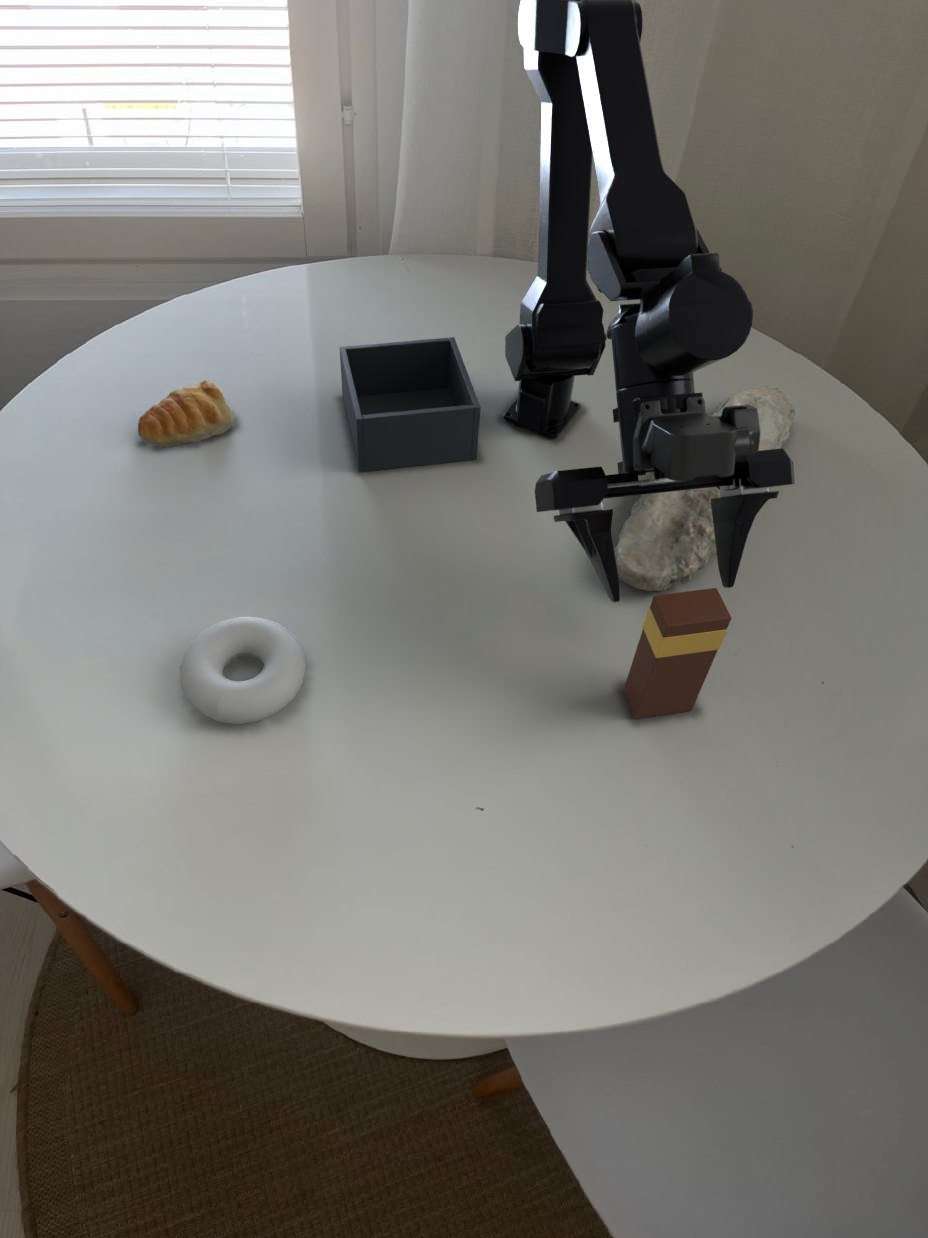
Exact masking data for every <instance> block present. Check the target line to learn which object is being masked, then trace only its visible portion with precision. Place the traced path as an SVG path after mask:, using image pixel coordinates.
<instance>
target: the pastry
mask: <svg viewBox="0 0 928 1238" xmlns="http://www.w3.org/2000/svg"><path fill="white" fill-rule="evenodd" d="M234 424H235V417H234V414H233V411H232V409H231V407H230V405H229V404H228V403H227V401H226V399H225V396H224V394H223V393H222V391H221V390H220V388H219V387H218V385H216V383H214V382H211V381H209V380H203V381H201V382H199V384H194V385H191V386H184V387H182V388H181V389H175V390H172V391H170V393H169V394H168V395H167V396H166V397H164V398H163V399H161V400H160V401H159V403H156V404H153V405H152V406H151V407H150V408H149V409H148V410H146V411H145V412H144V414H143V415H142V416H140V417H139V420H138V423H137V433H138V437H139V438H140V439H141V440H142V441H144V442H145V443H148V444H151V445H153V446H156V447H163V448H165V447H175V446H176V445H182V444H183V445H188V444H193V443H195V442H200V441H203V440H206V439H207V440H208V439H209V438H211V437H213V436H219V435H222V434H224V433H226V432H227V431H228V430H230V429H231V428H232V427H233V425H234Z"/></svg>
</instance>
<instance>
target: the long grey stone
mask: <svg viewBox="0 0 928 1238" xmlns="http://www.w3.org/2000/svg"><path fill="white" fill-rule="evenodd" d="M739 405H750V406H753V407H755V408H757V410H758V417H759V425H760V443H759V449H758V451H761V450H771V449H781V448H782V446H783V445H785V443H786V442H787V441H788V439H789V438H790V436H791V432H790V431H791V427H792V423H793V421H794V417H795V414H796V406H795V405H794V404H792V401H791V399H790V396H788V395H787V394H786V393H784V392H782V390H780V387H768V386H766V385H764V386H755V387H752V388H748V389H745V390H742V391H740V392H737V393H734V394H733V395H731V396H730V397H728V398H726V399H725V400H724V401H723V403H722V404H721V405H720V406H719V407H718V409H717V410H716V411H714V412H713V414H712V415H711V417H713V416H721V415H722V412H723V409H724V408H725V407H728V406H739ZM651 479H654V475H652V476H651V477H650V478H649V479H648V480H651ZM712 498H720V490H719V489H718V488H717V487H710V488H700V489H691V490H682V491H672V492H663V493H653V494H644V495H639V498H637V500H635V502H634V503H633V504H632V507H631V509H630V516H629V517H628V518H627V519H626V520H625V521H624V522H623V523H622V528H621V531H620V532H619V534H618V542H617V545H616V546H615V547H614V553H615V559H616V565H617V571H618V577H619V580H621V581H622V582H624V583H626V584H627V585H628V586H631V587H633V588H635V589H637V590H641V591H647V592H653V591H656V592H659V591H660V592H662V591H663V592H665V591H666V590H667V589H670V588H671V587H672V586H675V584H676V583H677V582H679V581H680V583H681V584H682V585H685V584H687V583H688V582H690V581H691V580H692V579H693V575H695V574H696V573H697V572H698V571H700V570H702V569H703V568H704V567H706V565H708V563H709V560H710V558H712V556H713V555H715V554H717V552H716V543H715V534H714V525H713V517H712V508H711V499H712Z"/></svg>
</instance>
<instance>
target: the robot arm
mask: <svg viewBox="0 0 928 1238" xmlns="http://www.w3.org/2000/svg"><path fill="white" fill-rule="evenodd" d="M643 19H644V18H643V9H642V7H641V4H640V3H639V2H638V1H637V0H520V2H519V7H518V17H517V30H518V39H519V43H520V45H521V46H522V47H523V66H524V71H525V72H526V74H527V76H528V78H529V81H530V82H531V84H532V86H533V88H534V90H535V92H536V94H537V96H538V99H539V100H540V102H541V118H540V119H541V121H540V128H541V129H540V163H539V164H540V165H539V202H538V203H539V205H538V207H539V208H538V240H537V241H538V242H537V243H538V245H537V246H538V247H537V248H538V249H537V251H538V252H537V275H536V277H535V279H534V280H533V282H532V284H531V285H530V287H529V289H528V290H527V292H526V294H525V295H524V297H523V299H522V300H521V302H520V308H519V309H520V310H519V324H516V325H515V326H514V327H513V328H512V329H511V330H510V331H509V332H507V334H506V335H505V338H504V339H505V340H504V355H505V360H506V362H507V364H508V367H509V370H510V372H511V376H512V378H513V380H514V382H518V390H517V397H516V399H515V400H514V401H513V403H512V404H511V405H510V406H509V407H508V408H507V409H506V410H505V412H504V413H503V420H505V421H507V422H510V423H512V424H515V425H518V426H519V427H523V428H525V429H528V430H530V431H533V432H535V433H538V434H540V435H543V436H545V437H548V438H551V439H557V438H559V436H560V435H561V434H562V433H563V432H564V430H565V429H566V428H567V427H568V425H569V424H570V423H571V421H572V420H573V419H574V418H575V417H576V415H577V414H578V413H579V411H580V410H581V404H580V403H578V402H576V401H573V400H572V395H573V389H574V384H575V378H576V376H577V377H578V376H594V374H595V372H596V370H597V367H598V366H599V363H600V361H601V358H602V356H603V354H604V351H605V350H606V341H607V340H611V350H612V360H613V370H614V382H615V384H614V385H615V396H616V407H615V408H613V409H612V418H613V420H612V421H613V423H618V428H619V439H620V449H621V451H620V452H621V460H622V461H619V462H617V463H616V464H617V473H614V474H606V473H605V471H604V468H603V466H592V467H582V468H573V469H572V468H571V469H563V470H562V469H561V470H554V471H552V472H548V473H545V474H541V475H540V477H539V478H538V480H537V481H536V483H535V487H534V498H535V508H536V513H541V512H542V513H543V512H551V511H558V513H559V514H557V515H556V514H555V515H553V519H554V522H555V523H560V522H564V523H566V525H567V526H568V528H569V529H570V530H571V532H572V534H573V535H574V536H575V539H576V540H577V541H578V542H579V544H580V546H581V547H582V549H583V550H584V552H585V554H586V555H587V557H588V559H589V561H590V563H591V565H592V567H593V569H594V571H595V573H596V575H597V577H598V579H599V581H600V583H601V585H602V588H603V589H604V591H605V593H606V596H607V597H608V599H609V601H610V602H612V603H618V602H620V601H621V598H620V597H621V595H620V594H621V593H620V577H618V571H617V565H616V559H615V553H614V549H615V547H614V541H613V535H612V528H613V527H612V526H613V519H614V517H613V516H614V509H613V508H611V509H609V508H608V509H605V508H604V507H605V506H604V500H605V499H614V498H625V497H634V496H641V495H644V494H653V493H663V492H672V491H682V490H691V489H700V488H710V487H717V488H718V489H719V490H720V498H712V499H711V508H712V517H713V525H714V534H715V543H716V558H717V559H716V560H717V567H718V568H717V569H718V572H719V576H720V580H721V585H722V587H723V588H725V589H731V588H733V587H734V585H735V583H736V579H737V576H738V572H739V568H740V566H741V565H740V564H741V561H742V559H743V558H742V557H743V553H744V551H745V546H746V543H747V539H748V536H749V535H750V531H751V529H752V526H753V523H754V521H755V518H756V517H757V515H758V513H759V512H760V511H761V509H762V508H763V507H764V505H765V504H766V503H767V502H768V501H769V500H771V499H773V500H774V499H778V496H779V494H780V490H776V491H771V490H770V488H773V487H781V486H789V485H795V484H796V479H795V465H794V461H793V460H792V458H791V457H790V455H789V454H788V453H787V451H786V450H785V449H784V448H783V447H781V448H780V449H771V450H761V451H758V449H759V443H760V425H759V417H758V410H757V408H755V407H753V406H750V405H739V406H728V407H725V408H724V409H723V412H722V415H721V416H713V417H712V416H711V415H708V413H707V411H706V410H707V409H706V401H705V398H704V396H703V392H695V382H694V380H695V379H694V372H696V371H699V370H701V369H703V368H706V367H708V366H711V365H713V364H714V363H717V362H719V361H721V360H724V359H726V358H728V357H730V356H732V355H733V354H734V353H736V352H738V351H739V349H740V348H741V347H743V346H744V344H745V343H746V341H747V339H748V337H749V336H750V333H751V329H752V326H753V319H754V309H753V304H752V302H751V301H750V300H749V297H748V295H747V292H746V290H744V288H743V287H742V285H741V284H740V282H738V281H737V279H735V278H734V276H731V275H729V274H728V273H726V272H724V271H722V270H723V269H722V267H721V264H720V263H721V262H720V254H719V252H710V250H709V247H707V244H706V242H705V241H704V239H703V237H702V235H701V233H700V231H699V230H698V228H697V227H696V223H695V220H694V216H693V214H692V209H691V206H690V202H689V199H688V196H687V194H686V193H685V191H684V190H683V189H682V188H681V187H680V186H679V185H678V184H677V183H676V182H675V181H674V180H673V179H672V178H671V177H670V176H669V175H668V174H667V173H666V171H665V169H664V164H663V161H662V160H663V159H662V155H661V151H660V145H659V140H658V135H657V128H656V123H655V117H654V112H653V106H652V102H651V95H650V90H649V83H648V78H647V73H646V69H645V63H644V57H643V51H642V47H641V41H642V40H641V39H642V35H643ZM593 162H594V169H595V176H596V179H597V187H598V194H599V207H598V209H597V211H596V213H595V216H594V218H593V220H592V224H591V225H590V211H591V210H590V209H591V190H592V189H591V188H592V169H593ZM587 270H588V275H589V278H590V280H591V282H592V283H593V284H594V285H595V286H596V289H597V291H598V292H599V293H600V294H601V293H602V294H603V295H604V296H605V297H606V298H607V299H608V300H609V302H621V301H638V300H639V302H638V303H636V302H635V303H624V304H623V303H622V304H619V305H618V307H617V312H616V313H615V316H614V317H613V319H612V320H611V321H610V322H609V324H608V326H607V330H605V327H604V323H603V317H604V308H603V304H602V303H601V300H598V299H597V296H596V295H595V294H594V292H593V290H592V287H591V285H590V284H589V282H588V280H587ZM605 331H606V332H605ZM648 473H653V476H654V479H651V480H649V479H641V480H640V479H639V477H640V476H646V475H647V474H648Z"/></svg>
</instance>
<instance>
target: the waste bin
mask: <svg viewBox="0 0 928 1238" xmlns="http://www.w3.org/2000/svg"><path fill="white" fill-rule="evenodd" d="M338 348H339V360H340V361H339V362H340V363H339V364H340V377H341V394H342V402H343V407H344V411H345V415H346V420H347V425H348V429H349V433H350V438H351V443H352V446H353V452H354V455H355V460H356V465H357V469H358V473H363V472H364V473H365V472H372V471H373V472H375V471H382V470H392V469H400V468H402V469H403V468H410V467H419V466H429V465H435V464H447V463H457V462H465V461H474V460H475V461H476V460H477V459H478V458H477V457H478V446H479V434H480V433H479V432H480V421H481V419H480V418H481V408H482V407H481V405H480V402H479V399H478V397H477V394H476V392H475V389H474V386H473V383H472V381H471V378H470V376H469V372H468V370H467V367H466V365H465V362H464V359H463V357H462V354H461V352H460V349H459V346H458V343H457V341H456V338H455V337H454V336H451V337H439V338H428V339H415V340H403V341H392V342H391V341H389V342H380V343H369V344H367V343H366V344H356V345H345V346H339V347H338Z"/></svg>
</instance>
